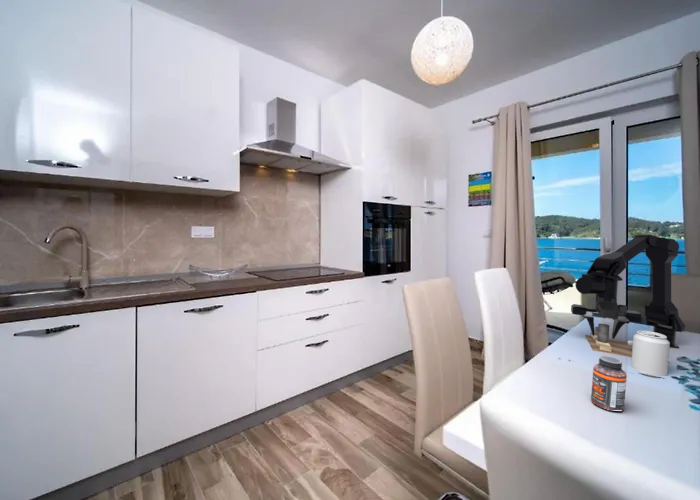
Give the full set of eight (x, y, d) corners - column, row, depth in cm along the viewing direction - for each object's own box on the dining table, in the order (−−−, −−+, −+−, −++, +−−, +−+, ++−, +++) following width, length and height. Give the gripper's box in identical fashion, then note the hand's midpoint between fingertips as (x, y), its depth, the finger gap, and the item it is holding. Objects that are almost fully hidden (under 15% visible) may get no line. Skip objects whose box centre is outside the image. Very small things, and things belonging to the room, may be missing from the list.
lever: (589, 335, 117) (591, 316, 117) (602, 337, 115) (604, 317, 115) (597, 349, 102) (599, 327, 102) (613, 352, 100) (614, 330, 100)
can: (674, 381, 83) (678, 338, 83) (642, 378, 85) (646, 336, 84) (653, 369, 91) (656, 330, 90) (624, 366, 92) (627, 328, 92)
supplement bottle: (584, 399, 73) (587, 354, 73) (606, 398, 74) (609, 353, 73) (607, 414, 67) (610, 364, 67) (631, 413, 68) (635, 364, 67)
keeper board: (584, 337, 119) (585, 325, 118) (651, 347, 109) (652, 334, 108) (592, 353, 102) (593, 339, 102) (672, 367, 92) (673, 352, 92)
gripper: (575, 293, 103) (572, 338, 104) (650, 301, 93) (646, 350, 94) (572, 288, 112) (569, 329, 113) (639, 295, 103) (636, 339, 104)
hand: (603, 336), depth 106 cm, fingers open, 5 cm apart
